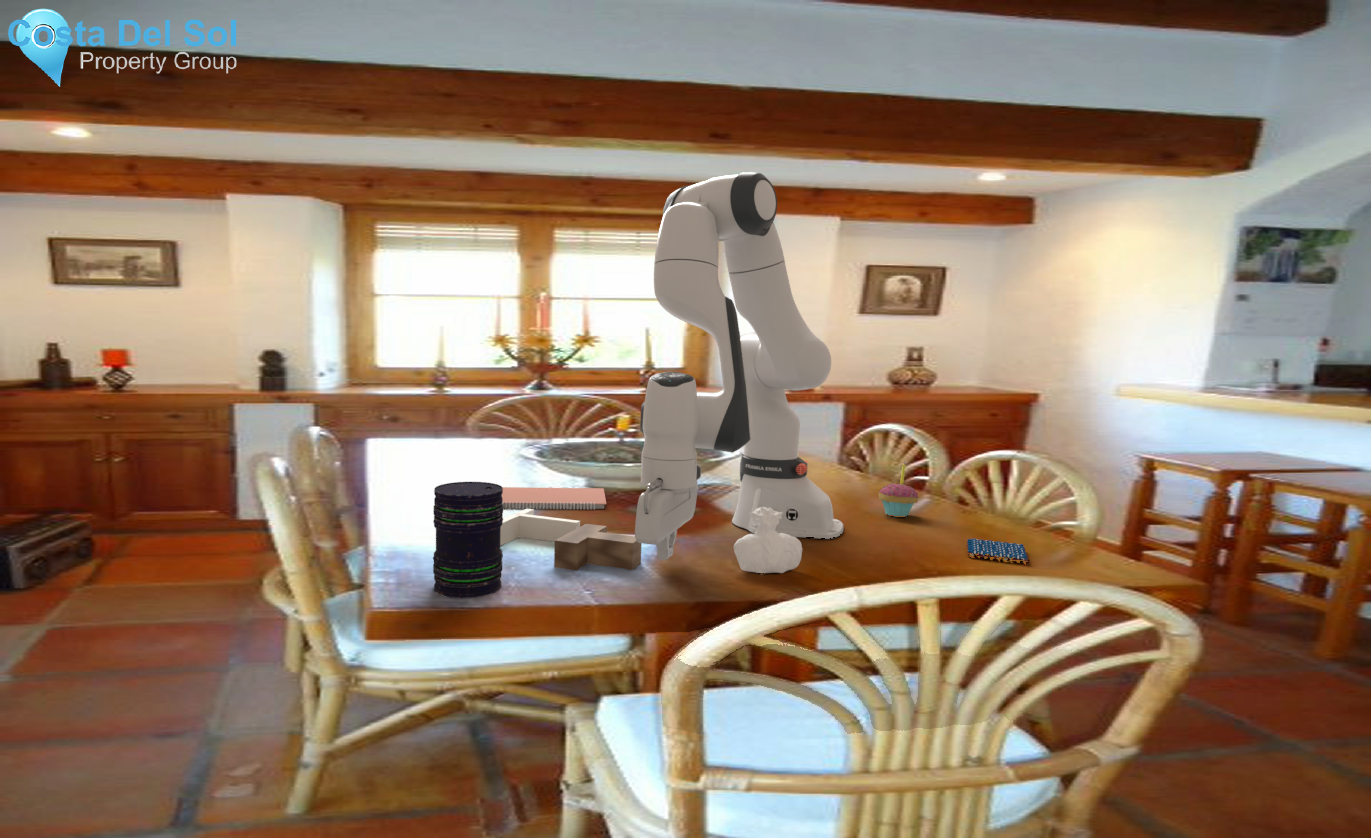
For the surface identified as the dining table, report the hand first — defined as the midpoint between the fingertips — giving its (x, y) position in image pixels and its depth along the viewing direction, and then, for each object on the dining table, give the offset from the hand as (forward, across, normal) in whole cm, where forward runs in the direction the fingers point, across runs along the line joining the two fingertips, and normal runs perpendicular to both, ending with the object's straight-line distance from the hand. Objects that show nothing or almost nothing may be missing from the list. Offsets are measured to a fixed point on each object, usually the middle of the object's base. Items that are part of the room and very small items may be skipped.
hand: (665, 557), depth 129 cm
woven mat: (+3, +35, -53) cm, 64 cm away
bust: (+2, +8, -15) cm, 17 cm away
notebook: (+3, +36, +41) cm, 55 cm away
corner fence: (+2, 0, +26) cm, 26 cm away
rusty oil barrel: (+2, -20, +24) cm, 31 cm away
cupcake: (+2, +59, -34) cm, 68 cm away
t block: (+2, 0, +11) cm, 11 cm away
